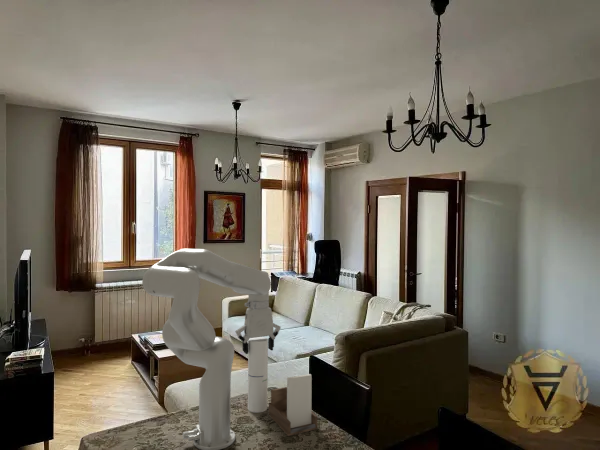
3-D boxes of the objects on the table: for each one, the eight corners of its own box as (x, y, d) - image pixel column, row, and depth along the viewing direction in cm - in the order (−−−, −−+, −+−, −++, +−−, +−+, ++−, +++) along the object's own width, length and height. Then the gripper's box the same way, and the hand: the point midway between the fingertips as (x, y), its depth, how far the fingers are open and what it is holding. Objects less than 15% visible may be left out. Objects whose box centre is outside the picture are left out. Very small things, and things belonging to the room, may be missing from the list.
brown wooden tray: (288, 435, 127) (288, 408, 127) (268, 414, 141) (268, 390, 142) (317, 428, 131) (317, 402, 131) (295, 409, 146) (295, 385, 146)
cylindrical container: (245, 406, 148) (245, 338, 149) (263, 402, 151) (264, 336, 152) (251, 413, 142) (251, 343, 143) (270, 410, 145) (270, 340, 146)
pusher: (288, 428, 129) (288, 378, 130) (286, 427, 130) (287, 377, 131) (311, 423, 133) (311, 374, 133) (309, 422, 134) (309, 373, 134)
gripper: (239, 308, 141) (238, 357, 140) (284, 304, 148) (284, 351, 148) (232, 305, 147) (232, 351, 147) (276, 301, 155) (276, 345, 155)
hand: (258, 351), depth 147 cm, fingers open, 9 cm apart
